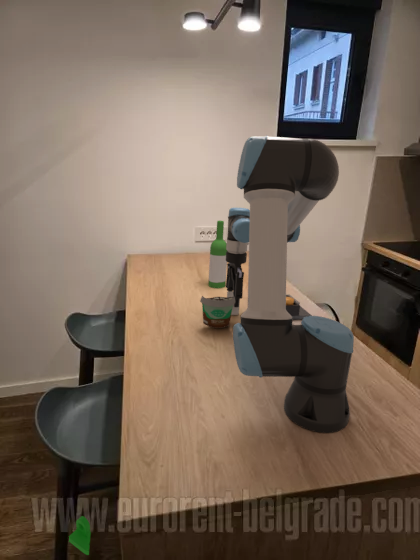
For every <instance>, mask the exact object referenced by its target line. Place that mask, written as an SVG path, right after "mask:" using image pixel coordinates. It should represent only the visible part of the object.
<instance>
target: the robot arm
mask: <svg viewBox="0 0 420 560" xmlns="http://www.w3.org/2000/svg"><path fill="white" fill-rule="evenodd" d="M239 159H240V160H239V164H238V169H237V177H236V187H237V188H238V189H240V190H243V199H244V200H245V201H247V203H248V204H249V208H245V207H231V208H230V209H229V211H228V215H227V220H228V221H227V233H226V234H227V236H226V243H227V244H226V250H227V252H226V262H227V269H226V284H225V288H226V291H227V292H226V297H233V295H234V297H235V304H234V305H233V307H232V313H231V316H239V314H240V302H241V299H243V292H244V291H243V288H244V277H245V276H244V275H245V272H244V271H243V268H242V264H243V265H244V264H246V263H247V257H248V271H247V272H248V276H247V277H248V278H247V308H246V309H245V310H244V311H243V312H242V313H241V315H240V322H237V323H235V324H234V325H233V327H232V330H233V331H232V333H233V334H232V336H233V337H232V339H233V348H234V349H233V350H234V355H235V359H236V365H237V367H238V370H239V372H240V373H241V374H242V375H244V376H247V377H259V378H263V377H269V378H270V377H272V378H274V377H278V378H279V377H280V378H281V377H285V378H286V377H287V378H288V377H289V378H292V377H293V378H294V379H293V381H292V384H290V387H289V389H288V391H287V393H286V395H285V397H284V402H283V403H284V404H283V409H284V413H285V415H286V416H287V417H288V418H289V419H290V420H291V422H293V423H294V424H296V425H298V426H300V427H301V428H304V429H306V430H309V431H312V432H318V433H326V434H327V433H328V434H329V433H336V432H339V431H342V430H343V429H345V428H346V427H347V425H348V423H349V419H350V415H351V414H350V413H351V411H350V406H349V401H348V394H347V390H346V389H347V384H348V378H349V373H350V368H351V367H350V366H351V362H352V356H353V353H354V340H355V338H354V337H355V336H354V334H353V332H352V330H351V329H350V328H349V327H348V326H346V325H345V324H343V323H341V322H340V321H337V320H334V319H332V318H328V317H325V316H319V315H312V316H308V317H304V318H303V319H302V320H301V321H300V324H293V320H292V316H291V315H290V314H289V313H288V312H287V310H286V295H287V267H288V266H287V265H288V263H287V259H288V258H287V257H288V254H287V253H288V243H295V242H297V241H298V240H299V237H300V233H301V224H302V223H303V221H304V220H305V219H306V218H307V216H308V215H309V214H310V212H311V211H312V210H313V209H314V208H315V206H317V204H318V203H319V201H323V200H325V199H327V198H328V197H329V196H330V194H331V193H332V192H333V190H334V189H335V187H336V185H337V183H338V181H339V175H340V169H339V163H338V159H337V157H336V155H335V153H334V152H333V150H332V149H331V148H330V147H329V146H328V145H326V143H323V142H322V141H320V140H317V139H314V138H301V137H299V138H298V137H283V136H281V137H280V136H268V135H267V134H266V135H264V136H259V135H257V136H255V135H253V136H250V137H248V138H247V139H246V140H245V142H244V145H243V148H242V151H241V155H240V158H239ZM247 251H248V253H247Z"/></svg>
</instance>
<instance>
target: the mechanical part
mask: <svg viewBox="0 0 420 560" xmlns="http://www.w3.org/2000/svg"><path fill="white" fill-rule="evenodd" d="M75 525H76V527H75V528H76V529H75V530H74V531H73V532H72V533H71V534H69V536H68V537H69V541H68V543H70V544H72V545H73V547H75V548H77V550H79V551H80V552H81V553H83V554H84V555H86V556H89V555H90V547H91V546H90V545H91V535H92V532H91V525H90V522H89V520H88V519H87V518H86V516H83V515H81V516H80V517H79V518H78V519H76V522H75Z"/></svg>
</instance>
